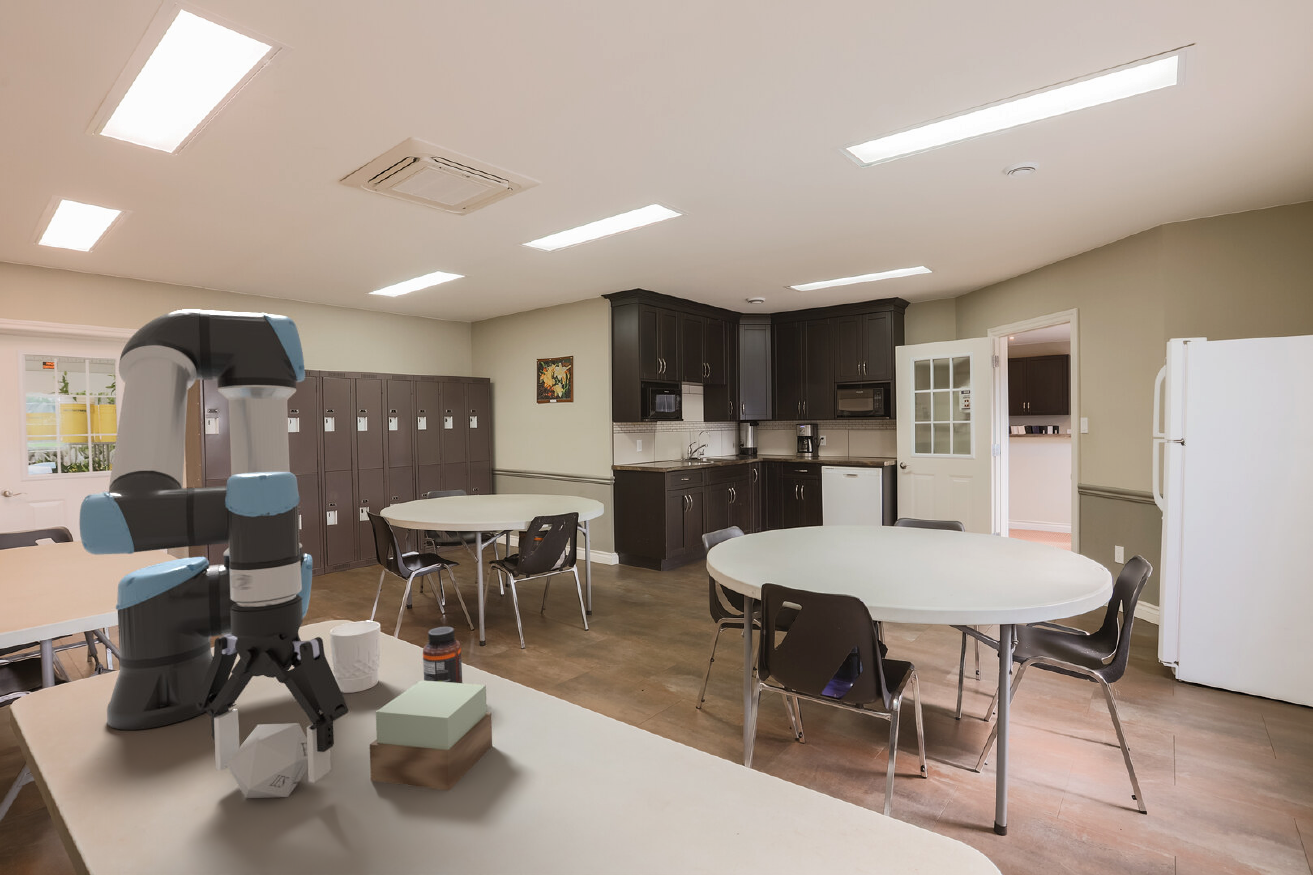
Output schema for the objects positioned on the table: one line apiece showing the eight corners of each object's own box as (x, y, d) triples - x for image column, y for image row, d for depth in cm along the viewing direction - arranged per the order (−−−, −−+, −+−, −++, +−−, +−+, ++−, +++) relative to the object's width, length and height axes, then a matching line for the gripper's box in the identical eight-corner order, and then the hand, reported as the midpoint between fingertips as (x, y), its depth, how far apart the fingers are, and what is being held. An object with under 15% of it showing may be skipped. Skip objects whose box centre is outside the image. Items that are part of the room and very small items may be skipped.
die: (253, 826, 73) (308, 746, 76) (196, 783, 75) (253, 706, 78) (290, 811, 81) (340, 738, 84) (239, 772, 83) (289, 702, 85)
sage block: (376, 742, 82) (375, 711, 82) (421, 708, 91) (420, 680, 91) (448, 749, 79) (447, 717, 79) (486, 713, 89) (485, 685, 89)
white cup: (366, 672, 117) (364, 618, 117) (391, 682, 112) (389, 625, 112) (322, 687, 111) (320, 630, 110) (347, 698, 106) (345, 638, 106)
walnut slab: (370, 783, 81) (369, 744, 81) (422, 740, 92) (421, 706, 92) (449, 793, 79) (447, 753, 79) (492, 748, 90) (491, 712, 89)
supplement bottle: (453, 687, 109) (451, 621, 109) (469, 698, 105) (467, 629, 105) (418, 698, 105) (416, 630, 105) (433, 710, 101) (431, 638, 101)
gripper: (156, 602, 78) (163, 776, 79) (331, 611, 72) (337, 798, 73) (212, 587, 86) (218, 746, 86) (375, 594, 80) (381, 764, 80)
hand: (273, 770), depth 79 cm, fingers open, 13 cm apart
